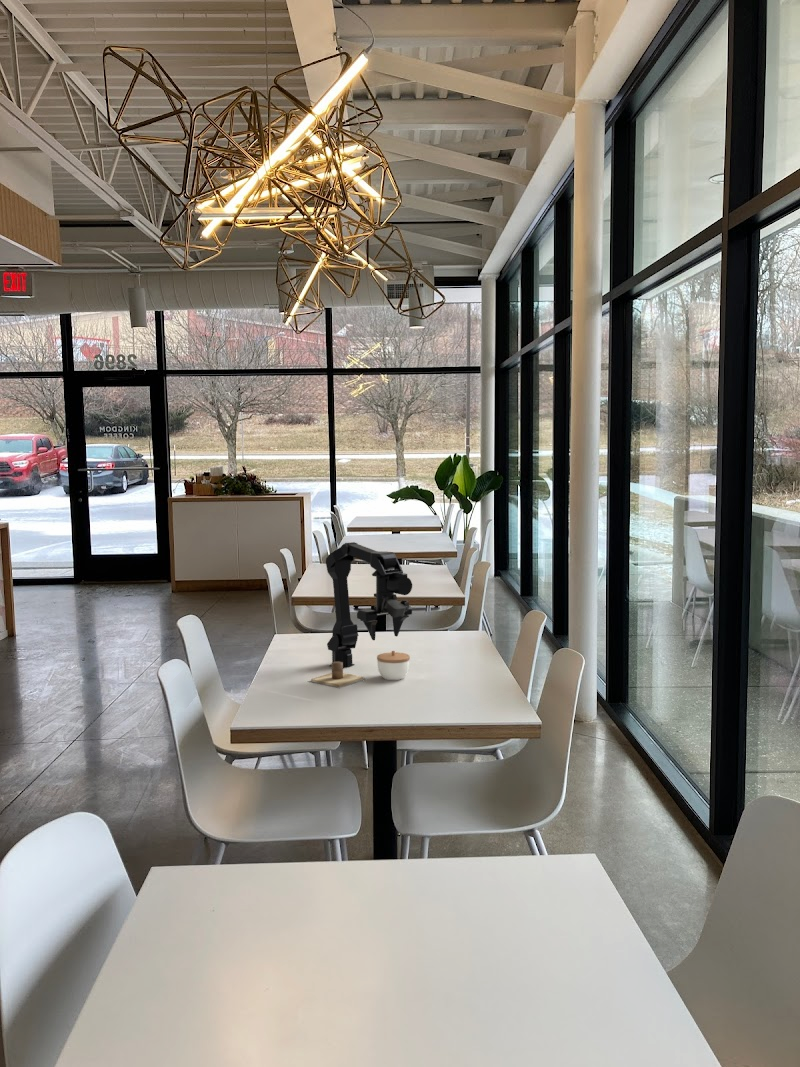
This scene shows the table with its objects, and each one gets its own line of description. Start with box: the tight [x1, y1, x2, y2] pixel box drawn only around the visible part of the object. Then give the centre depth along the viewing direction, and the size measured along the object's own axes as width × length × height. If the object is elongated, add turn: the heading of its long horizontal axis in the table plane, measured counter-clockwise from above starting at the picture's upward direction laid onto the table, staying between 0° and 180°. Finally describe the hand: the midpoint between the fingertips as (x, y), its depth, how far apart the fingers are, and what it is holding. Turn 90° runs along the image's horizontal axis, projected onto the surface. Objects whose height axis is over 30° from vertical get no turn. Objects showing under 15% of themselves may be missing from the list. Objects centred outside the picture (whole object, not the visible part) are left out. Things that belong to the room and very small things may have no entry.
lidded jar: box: [376, 650, 411, 681], centre depth 292 cm, size 11×11×9 cm
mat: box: [307, 677, 367, 689], centre depth 290 cm, size 14×14×1 cm
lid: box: [310, 662, 364, 687], centre depth 290 cm, size 12×12×6 cm
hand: (384, 638), depth 291 cm, fingers open, 9 cm apart
